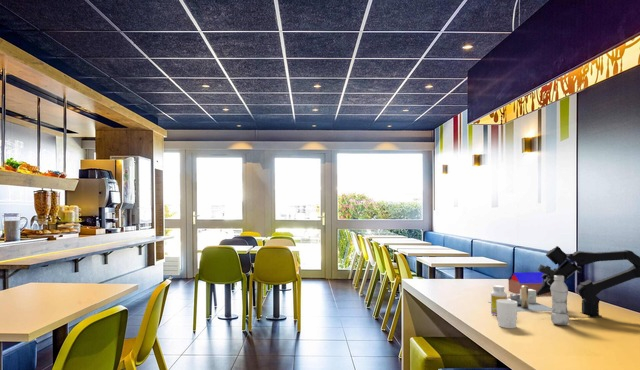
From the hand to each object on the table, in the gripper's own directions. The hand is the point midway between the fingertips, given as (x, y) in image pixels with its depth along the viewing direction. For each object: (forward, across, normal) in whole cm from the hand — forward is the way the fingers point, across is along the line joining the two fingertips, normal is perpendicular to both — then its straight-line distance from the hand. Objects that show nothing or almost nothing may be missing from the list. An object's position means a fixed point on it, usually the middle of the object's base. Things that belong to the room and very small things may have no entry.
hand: (537, 294), depth 199 cm
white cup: (+17, +32, -5) cm, 36 cm away
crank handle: (+10, -6, -1) cm, 12 cm away
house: (+3, -48, +8) cm, 49 cm away
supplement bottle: (+18, +14, -7) cm, 24 cm away
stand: (+10, -5, +1) cm, 11 cm away
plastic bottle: (+2, +22, +9) cm, 24 cm away
